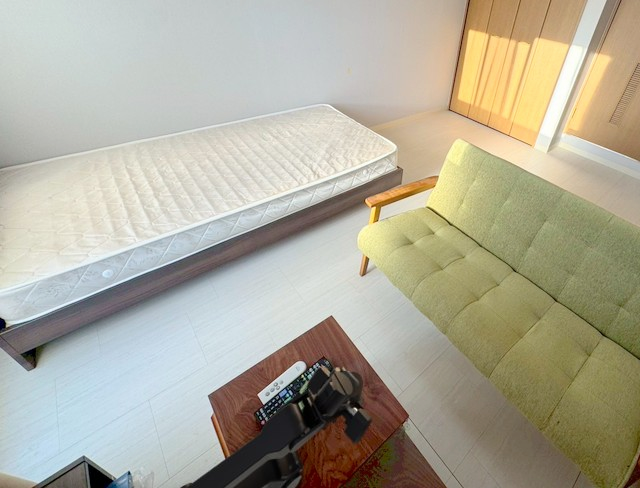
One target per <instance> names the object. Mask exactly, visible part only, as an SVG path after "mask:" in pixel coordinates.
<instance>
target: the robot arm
mask: <svg viewBox="0 0 640 488" xmlns="http://www.w3.org/2000/svg"><path fill="white" fill-rule="evenodd" d="M351 372H352V371H349V370H346V368H345V367H344V366H341V367H338V366H337V367H335V368H333V369H332V370H331V371H330V370H329V369H328V368H327V367H326V366H325V365H321V366H318V367H317V368H316V369H315V370H314V372H313V373H312V375H311V376H310V378H309V379H308V381H307V382H308V383H307V388H308V390H306V391H305V392H303V393H302V394H301V393H299V392H298V393H297V394H296V395H294V396H292V397H290V399H289V400H287V401H286V402H284V403H283V404H282V405H280V407H279V408H278V409H277V410H276V411H275V413H274V414H273V415H272V416H271V417H269V418H268V419H267V420H266V422H265V423H264V425H263V427H262V429H261V430H260V432H259V433H258V434H257V435H256V436H255V437H253V438H252V439H251V440H249V441H248V442H247V443H245V444H244V445H242V446H241V447H240V448H239V449H237V450H235V451H234V452H233V453H231V454H230V455H229V456H227V457H226V458H225V459H223V460H221V461H220V462H219V463H217V464H216V465H215V466H213V467H212V468H211V469H209V470H208V471H207V472H205V473H204V474H202V475H201V476H200V477H197V479H195V480H194V481H192V482H188V483H186V484H184V485H182V486H179V488H296V487H298V486H299V484H300V483H301V481H302V477H303V476H302V473H301V472H302V471H303V470H304V468H305V466H304V463H303V460H302V458H301V456H300V454H299V451H298V450H299V449H300V448H301V447H303V446H304V445H305V444H306V443H307V442H308V441H309V440H310V439H312V437H314V436H316V435H317V434H318V433H319V432H321V431H325V430H327V428H328V427H329V425H331V424H335V423H336V422H337V420H338V419H339V418H340V417H343V418H344V419H345V420H344V422H343V423H344V425H345V426H346V427H345V429H344V431H343V433H344V434H345V436H346V437H347V438H348V439H349V440H350V442H351V443H352V444H353V445H357V444H358V443H360V442H361V441H362V440H363V437H364V435H365V434H366V433H367V431H368V429H369V427H370V426H371V424H372V422H373V420H372V417H371V416H370V415H369V414H368V412H367V411H366V410H365V408H364V407H363V405H362V404H363V402H364V399H363V398H361V400H360V401H359V402H358V401H357V402H356V404H355V405H354V407H353V408H351V407H350V406H349V403H350V401H349V400H350V397H351V396H352V395H353V393H354V392H355V391H356V389H357V388H358V387H359V381H358V380H357V379H356V378H355V377H354V376H353V375H352V373H351ZM311 393H312V394H313V395H312V394H311ZM301 401H302V402H303V405H304V407H303V408H302V409H301V408H300V406H299V404H298V403H300V402H301ZM342 415H343V416H342Z"/></svg>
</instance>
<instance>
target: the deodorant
mask: <svg viewBox="0 0 640 488" xmlns="http://www.w3.org/2000/svg"><path fill="white" fill-rule="evenodd" d="M350 372H351V373H352V375H353V376H354V377H355V378H356V379H357V380H358V381H359V387H358V388H357V389H356V391H355V392H354V393H353V395H352V396H351V397H350V400H349V401H350V403H349V406H350V407H351V408H353V407H354V405H355V404H356V402H357V401H358V402H359V401H360V400H361V399H362V395H363V390H364V389H363V388H364V380H363V377H362V376H361V374H360V373H359V372H356V371H350ZM341 417H343V415H341Z"/></svg>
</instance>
